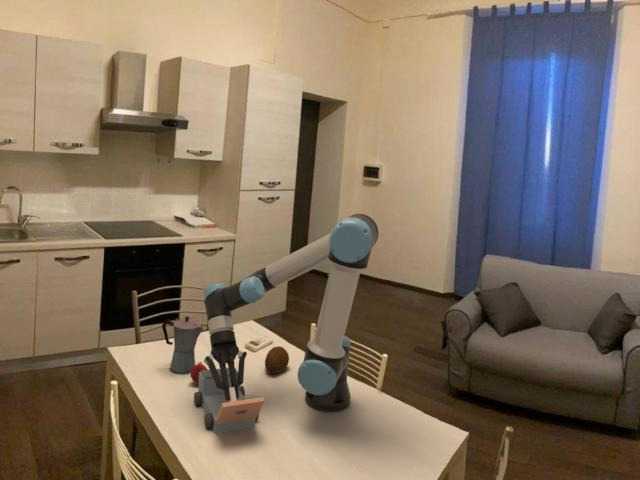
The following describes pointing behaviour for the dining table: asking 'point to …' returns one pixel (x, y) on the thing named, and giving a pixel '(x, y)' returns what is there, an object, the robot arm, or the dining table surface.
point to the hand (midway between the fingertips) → (234, 411)
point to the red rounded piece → (197, 371)
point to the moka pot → (183, 343)
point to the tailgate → (239, 410)
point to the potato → (276, 360)
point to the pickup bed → (218, 402)
